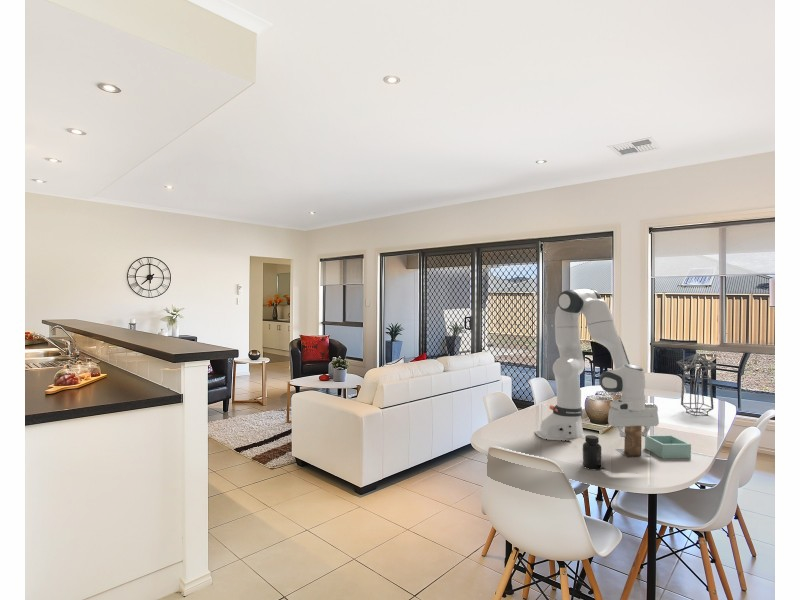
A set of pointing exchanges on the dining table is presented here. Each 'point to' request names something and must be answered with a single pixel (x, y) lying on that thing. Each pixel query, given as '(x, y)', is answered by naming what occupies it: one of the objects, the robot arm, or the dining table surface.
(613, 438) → the dining table surface
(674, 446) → the sage bin
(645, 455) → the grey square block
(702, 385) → the geometric lantern
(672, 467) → the dining table surface
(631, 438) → the walnut strut
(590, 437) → the supplement bottle
